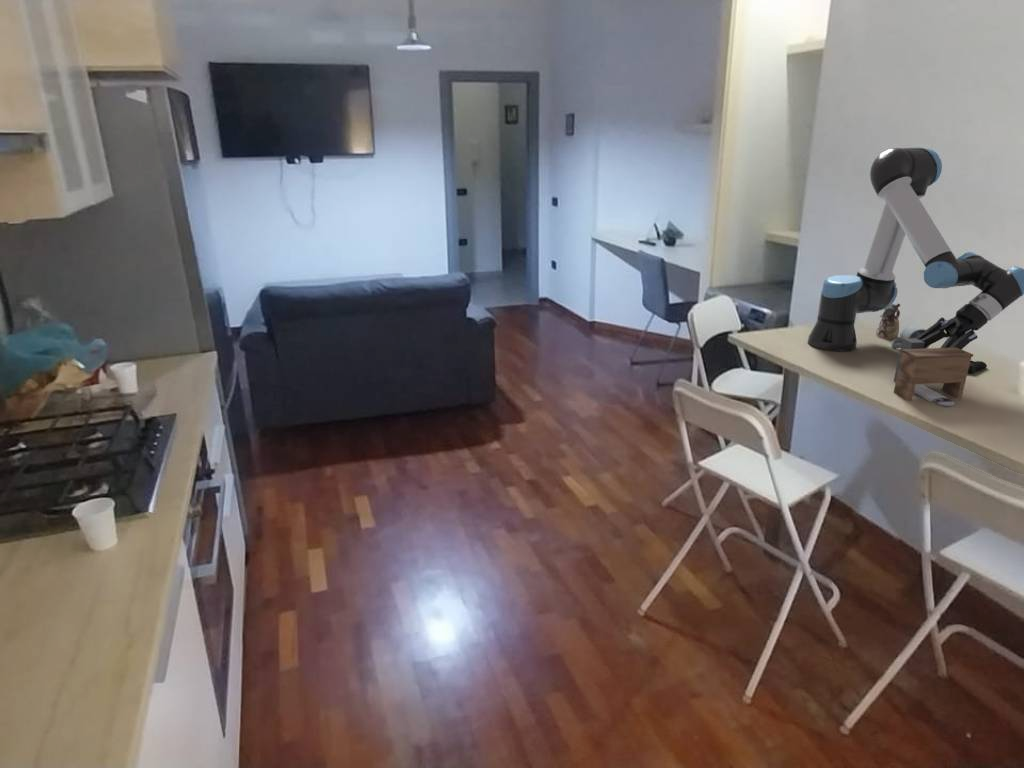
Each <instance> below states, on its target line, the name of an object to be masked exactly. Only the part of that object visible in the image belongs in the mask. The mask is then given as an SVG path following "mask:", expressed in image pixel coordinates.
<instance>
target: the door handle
mask: <svg viewBox="0 0 1024 768" xmlns="http://www.w3.org/2000/svg"><path fill="white" fill-rule="evenodd" d="M987 365H988V364H987V363H986V362H984V361H982V360H981V361H980V360H977V361H973V360H971V361H970V365H969V369H968V373H967V375H969V374H973V373H974V372H978V371H982V370H985V369H987V367H988V366H987ZM981 369H982V370H981Z"/></svg>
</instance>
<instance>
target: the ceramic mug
mask: <svg viewBox="0 0 1024 768" xmlns="http://www.w3.org/2000/svg"><path fill="white" fill-rule="evenodd" d="M926 330H927V329H924V328H923V327H920V326H916V325H909V326H908V325H907V326H906V327H904V328H903V329H902V330H901V331H900V332H899V337H897V338H895V339H892V340H891V343H890V344H891V347H892V348H894V349H901V344H902V340H903V339H909V338H916V337H917V336H919V335H920V334H922V333H923V332H924V331H926ZM930 346H931V345H929V346H927V347H925V348H924V349H927V348H929V347H930Z"/></svg>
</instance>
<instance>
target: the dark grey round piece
mask: <svg viewBox="0 0 1024 768" xmlns="http://www.w3.org/2000/svg"><path fill="white" fill-rule="evenodd" d="M934 404H935V405H937V406H940V407H943V408H954V406H955V401H954V400H952V399H950V398H948V397H947V398H936V399H935V401H934Z"/></svg>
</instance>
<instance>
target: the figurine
mask: <svg viewBox="0 0 1024 768" xmlns="http://www.w3.org/2000/svg"><path fill="white" fill-rule="evenodd" d="M899 307H901V303H899V302H898V303H896V304H894V303H892V304H891V305H890V306H889V307H888V308H886V309H883V313H882V314H881V315H880V318H881V319H880V321H879V324H878V327H877V328H876V332H875V336H876V337H877V336H878V338H881V339H885V340H886V339H887V340H895V339H897V338H899V335H900V321H899V318H900V313H901V311H900V309H899Z"/></svg>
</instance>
